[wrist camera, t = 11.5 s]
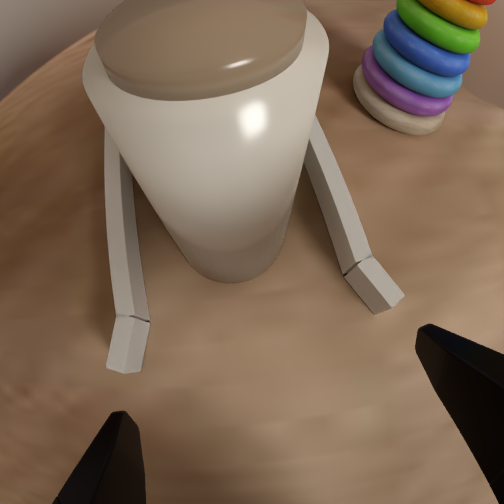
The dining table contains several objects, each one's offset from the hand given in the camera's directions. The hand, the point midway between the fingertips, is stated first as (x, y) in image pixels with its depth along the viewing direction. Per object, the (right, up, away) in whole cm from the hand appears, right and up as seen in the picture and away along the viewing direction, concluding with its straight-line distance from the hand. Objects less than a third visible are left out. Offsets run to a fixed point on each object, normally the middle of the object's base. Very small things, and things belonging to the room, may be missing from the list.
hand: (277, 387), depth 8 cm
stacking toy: (+11, +16, +14) cm, 24 cm away
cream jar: (-2, +5, +10) cm, 12 cm away
